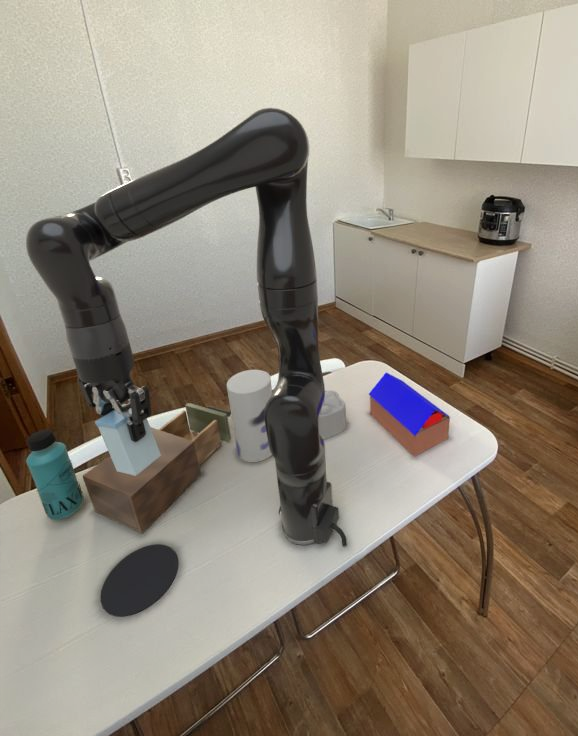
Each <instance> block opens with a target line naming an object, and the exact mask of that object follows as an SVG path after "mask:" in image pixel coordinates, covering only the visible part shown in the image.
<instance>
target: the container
mask: <svg viewBox="0 0 578 736" xmlns="http://www.w3.org/2000/svg"><path fill="white" fill-rule="evenodd" d="M272 389H273V386H272V378H271V375H270V374H269V372H267V371H265V370H261V369H247V370H243V371H240V372H237V373H236V374H234V375H232V376H231V377H230V378H229V379H228V380H227V382H226V391H227V396H228V397H227V398H228V402H229V409H230V410H229V411H230V412H231V415H230V417H231V421H232V427H233V428H232V429H233V435H234V439H235V445H236V452H237V453H236V454H237V456H238V457H239V458H240V459H241V460H242V461H244V462H247V463H258V462H261V461H264V460H267V459H268V458H271V456H273V455H272V454H271V452H270V449H269V444H268V438H267V432H266V427H265V419H264V412H265V406H266V403H267V401H268V399H269V397H270V396H271V394H272V392H273V390H272Z"/></svg>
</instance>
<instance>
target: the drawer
mask: <svg viewBox="0 0 578 736" xmlns="http://www.w3.org/2000/svg"><path fill="white" fill-rule="evenodd" d="M184 406H185V410H182V411H180V412H179V413H178V414H177V415H175V416H174V417H173V418H171V419H170V420H169V421H167V422H166V423H165V424H163V425H162V426H160V427H159V428H157V429H158V430H161V431H164V432H167V433H170V434H173V435H176V436H179V437H182V438H185V439H188V440H191V441H194V444H195V449H196V454H197V458H198V463H199V466H200V465H202V463H204V461H206V460H207V459H208V458H209V457H210V456H211V455H212V454H213V453H214V452H215V451H216V450H217V449H218V448H219V447H220V446H221V445H222V441H223V442H227V443H229V442H230V441H231V440H232V436H231V435H232V434H231V430H230V423H229V418H230V417H231V410H227V409H223V408H220V407H216V406H212V405H208V406H207V407H204V406H201V405H197V404H194V403H191V402H188V403H186V404H185V405H184Z"/></svg>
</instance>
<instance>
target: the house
mask: <svg viewBox="0 0 578 736" xmlns="http://www.w3.org/2000/svg"><path fill="white" fill-rule="evenodd" d="M368 395H369V411H370V412H369V414H370V416H371V417H372V418H374V419H375V420H376V421H377V422H378V423H379V425H381V426H382V427H383V428H384V430H386V431H387V432H388V433H389V434H390V435H391V436H392V437H393V438H395V441H397V442H398V443H399V444H400V445H402V447H403V448H405V450H407V452H408V453H409V454H411V455H412V456H413V457H416V456H419V455H420V454H423V453H424V452H426V451H428V450H430V449H432V448H434V447H436V446H438V445H440V444H441V443H443V442H445V441H447V440H449V434H450V420H451V416H450V415H449V414H447V413H446V412H445V411H444V410H442V409H441V408H439V407H438V406H436V404H434V403H433V402H431V401H430V400H429V399H427V398H426V397H424V395H422V394H421V393H419V392H418V391H417V390H415V389H414V388H412V387H411V386H410V385H409V384H407V383H406V382H405V381H404V380H402V379H400V378H398V377H396V376H395V375H392V374H391V373H389V372H385V373H384V374H383V375H382V377H381V378H380V379H379V380H378V381H377V383H376V384H375V385H374V386H373V388H372V389H371V391H370V392H369V393H368Z"/></svg>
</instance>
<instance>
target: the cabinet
mask: <svg viewBox="0 0 578 736" xmlns="http://www.w3.org/2000/svg"><path fill="white" fill-rule="evenodd" d="M150 428H151V430H152V433H153V436H154V438H155V441H156V443H157V446H158V449H159V451H160V454H161V456H160V457H158V458H157V459H156V460H155V461H154V462H152V463H151V464H150V465H149V466H147V467H146V468H145V469H144V470H142V471H141V472H140V473H139V474H138V475H136V476H134V475H130V474H126V473H122V472H118V471H117V470H116V468H115V465H114V463H113V461H112V458H111V456H110V455H109V456H107V457H106V458H104V459H103V460H102V461H100V462H99V463H98V464H96V465H95V466H94V467H92V468H91V469H89V470H88V471H87V472H86V473H84V474H83V475H82V479H83V483H84V485H85V488H86V491H87V494H88V497H89V499H90V502H91V505H92V508H93V511H94V513H97V514H99V515H101V516H103V517H106V518H107V519H109V520H111V521H113V522H116V523H118V524H120V525H123V526H124V527H127V528H128V529H131V530H133V531H135V532H137V533H139V534H141V535H142V534H144V533H145V532H146V531H147V530H148V529H149V528H150V527H151V526H152V525H153V524H154V523H155V522H156V521H157V520H158V519H159V518H160V517H161V516H162V515H163V514H164V513H165V512H166V511H167V510H168V509H169V508H170V507H171V506H172V505H173V504H174V503H175V502H176V501H177V500H178V499H179V498H180V497H181V496H182V495H183V494H184V493H185V492H186V491H187V490H188V489H189V488H190V487H191V486H192V485H193V484H194V483H195V482H196V481H197V480H198V479H199V478H200V477H201V475H202V472H201V468H200V465H199V463H198V458H197V454H196V449H195V444H194V441H191V440H188V439H185V438H182V437H179V436H176V435H173V434H170V433H167V432H164V431H161V430H158V429H159V428H154V427H152V426H150Z"/></svg>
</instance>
